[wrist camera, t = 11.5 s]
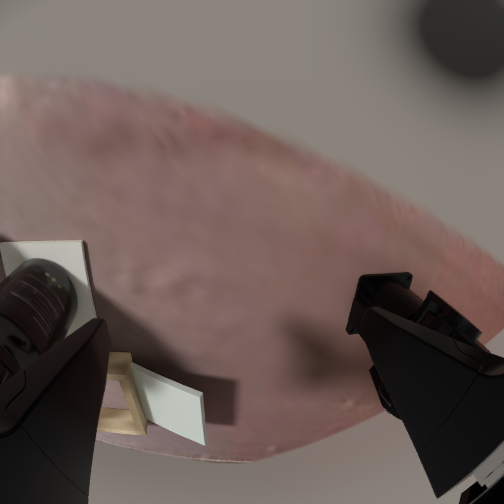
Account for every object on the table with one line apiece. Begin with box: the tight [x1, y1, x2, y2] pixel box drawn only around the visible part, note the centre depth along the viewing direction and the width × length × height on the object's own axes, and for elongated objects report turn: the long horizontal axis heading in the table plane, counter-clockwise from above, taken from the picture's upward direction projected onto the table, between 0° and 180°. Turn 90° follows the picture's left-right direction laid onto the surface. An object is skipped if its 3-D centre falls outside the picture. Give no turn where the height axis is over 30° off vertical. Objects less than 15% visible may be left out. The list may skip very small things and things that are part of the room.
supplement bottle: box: [0, 258, 78, 386], centre depth 15 cm, size 7×7×12 cm
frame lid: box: [130, 362, 207, 445], centre depth 24 cm, size 7×8×4 cm
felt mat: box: [0, 240, 97, 335], centre depth 20 cm, size 9×9×1 cm
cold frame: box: [97, 352, 148, 435], centre depth 23 cm, size 12×10×3 cm
